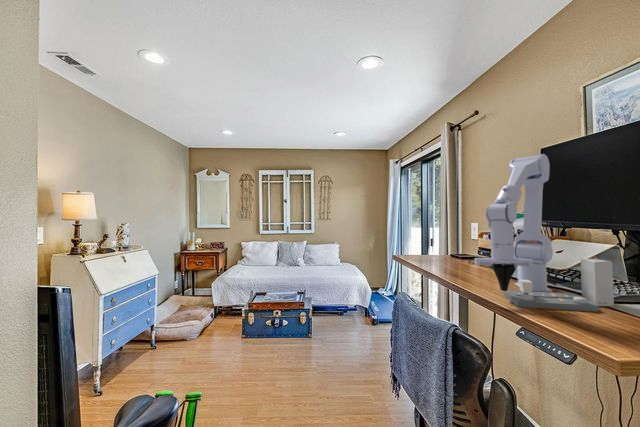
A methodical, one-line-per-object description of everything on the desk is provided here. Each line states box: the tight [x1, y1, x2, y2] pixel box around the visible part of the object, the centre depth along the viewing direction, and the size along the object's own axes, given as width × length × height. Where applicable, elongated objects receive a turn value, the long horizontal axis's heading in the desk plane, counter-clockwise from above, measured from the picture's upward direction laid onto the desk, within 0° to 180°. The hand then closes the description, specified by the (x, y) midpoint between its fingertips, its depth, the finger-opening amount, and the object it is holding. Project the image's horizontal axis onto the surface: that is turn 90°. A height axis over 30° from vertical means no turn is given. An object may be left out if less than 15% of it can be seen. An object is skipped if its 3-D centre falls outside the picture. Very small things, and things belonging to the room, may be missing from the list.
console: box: [503, 290, 600, 312], centre depth 84 cm, size 12×18×3 cm, turn 72°
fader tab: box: [518, 280, 533, 295], centre depth 85 cm, size 3×2×4 cm
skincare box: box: [580, 258, 615, 307], centre depth 82 cm, size 6×4×12 cm
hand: (503, 290), depth 87 cm, fingers closed
